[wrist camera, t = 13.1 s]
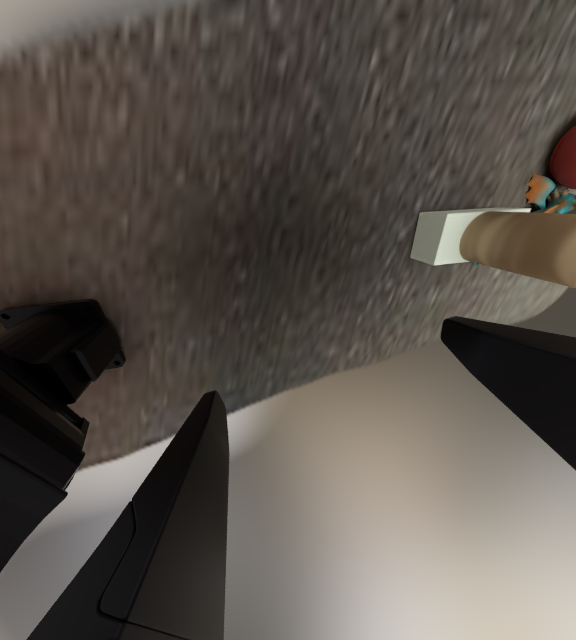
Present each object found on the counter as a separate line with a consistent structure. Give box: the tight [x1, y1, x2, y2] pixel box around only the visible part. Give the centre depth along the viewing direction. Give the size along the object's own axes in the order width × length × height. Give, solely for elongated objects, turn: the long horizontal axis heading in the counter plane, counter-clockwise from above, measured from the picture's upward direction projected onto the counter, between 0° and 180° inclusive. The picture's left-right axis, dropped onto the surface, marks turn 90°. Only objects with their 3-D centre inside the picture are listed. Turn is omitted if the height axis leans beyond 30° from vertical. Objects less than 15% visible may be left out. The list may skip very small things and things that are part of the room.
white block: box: [410, 208, 531, 265], centre depth 20 cm, size 8×4×3 cm, turn 93°
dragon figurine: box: [474, 174, 576, 266], centre depth 22 cm, size 7×7×8 cm
